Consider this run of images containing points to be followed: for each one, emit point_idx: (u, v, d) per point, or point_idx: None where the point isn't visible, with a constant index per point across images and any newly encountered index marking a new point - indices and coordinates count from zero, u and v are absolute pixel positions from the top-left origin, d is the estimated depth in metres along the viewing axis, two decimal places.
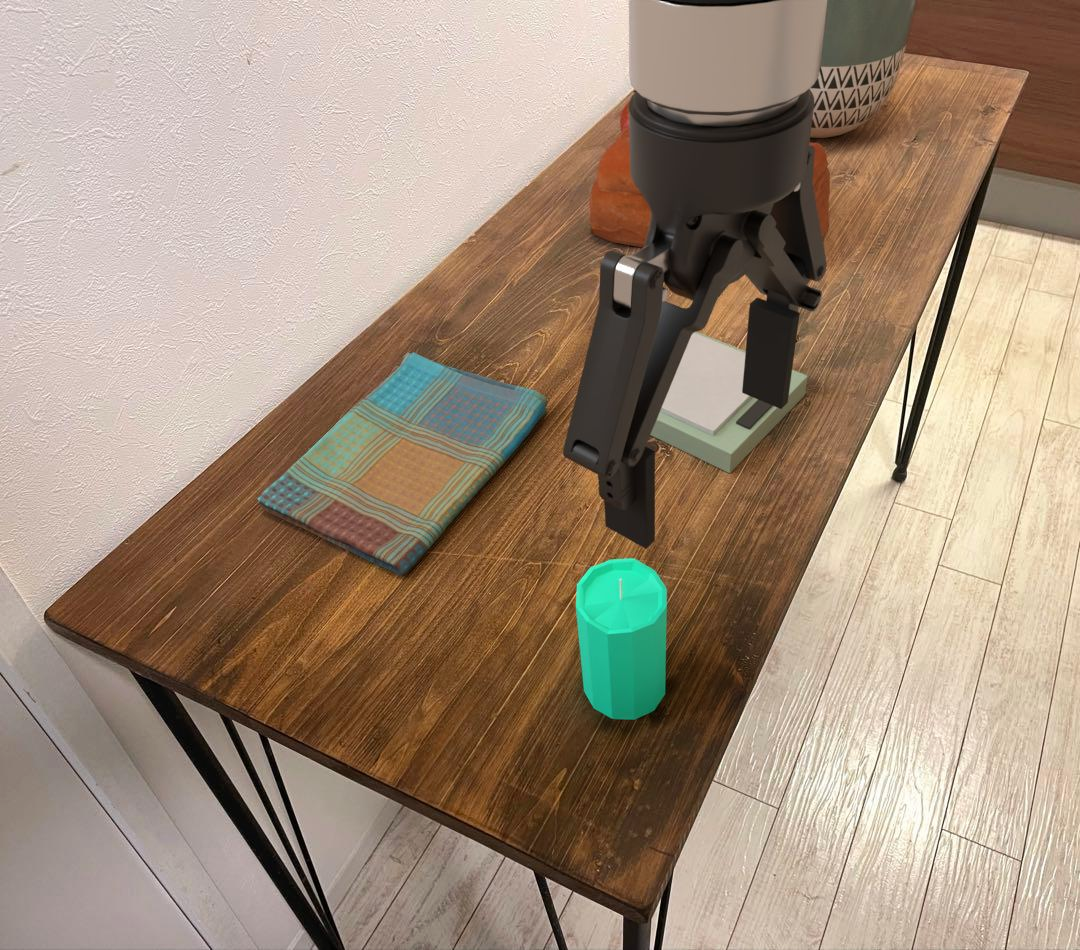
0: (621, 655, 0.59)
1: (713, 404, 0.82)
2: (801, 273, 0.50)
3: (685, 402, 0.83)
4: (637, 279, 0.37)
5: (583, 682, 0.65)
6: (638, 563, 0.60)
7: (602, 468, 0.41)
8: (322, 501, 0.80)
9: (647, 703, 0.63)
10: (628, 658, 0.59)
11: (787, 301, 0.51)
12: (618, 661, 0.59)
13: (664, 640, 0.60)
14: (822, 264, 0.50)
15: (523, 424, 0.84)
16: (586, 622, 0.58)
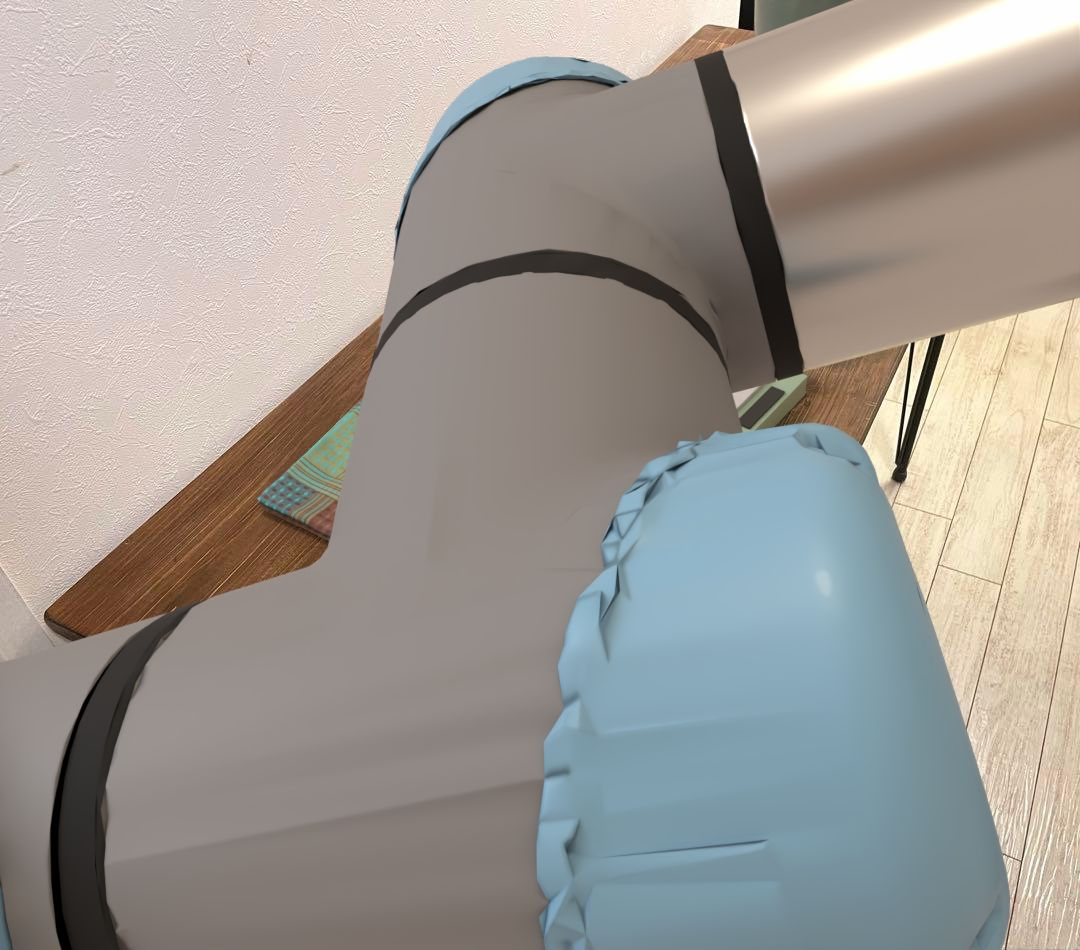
0: None
1: None
2: None
3: None
4: None
5: None
6: None
7: None
8: (322, 501, 0.80)
9: None
10: None
11: None
12: None
13: None
14: None
15: None
16: None
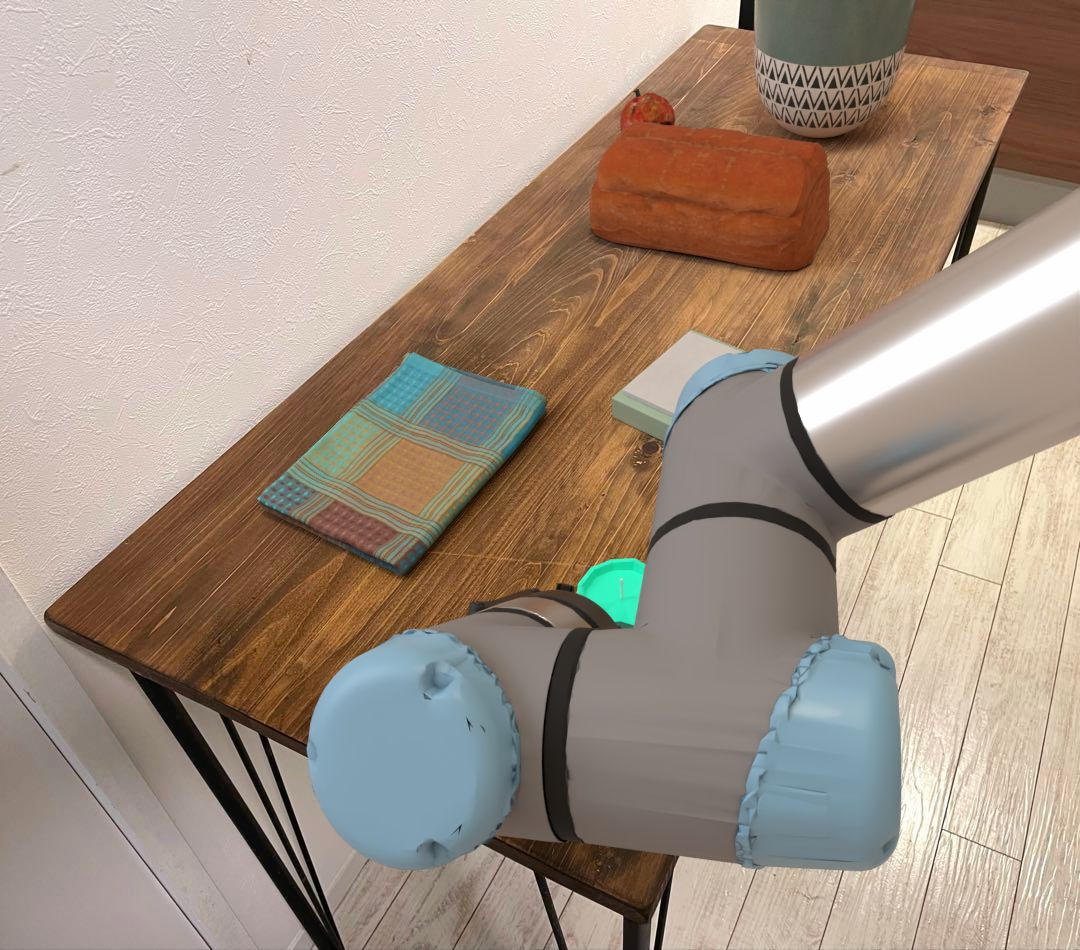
0: None
1: None
2: None
3: None
4: None
5: None
6: (638, 563, 0.60)
7: None
8: (322, 501, 0.80)
9: None
10: None
11: None
12: None
13: None
14: (530, 591, 0.60)
15: (523, 424, 0.84)
16: None
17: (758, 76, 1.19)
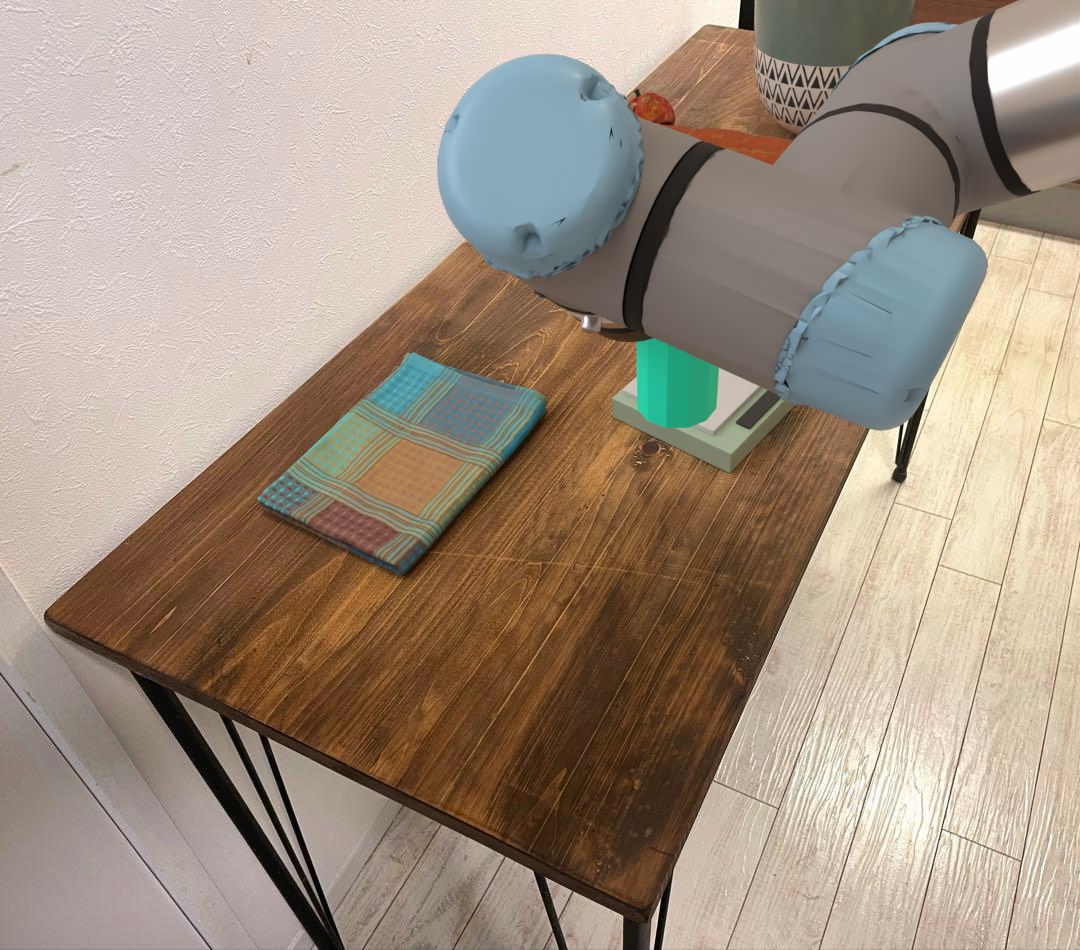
0: None
1: None
2: None
3: None
4: None
5: (637, 396, 0.67)
6: None
7: None
8: (322, 501, 0.80)
9: (701, 408, 0.65)
10: None
11: None
12: None
13: None
14: None
15: (523, 424, 0.84)
16: None
17: (758, 76, 1.19)
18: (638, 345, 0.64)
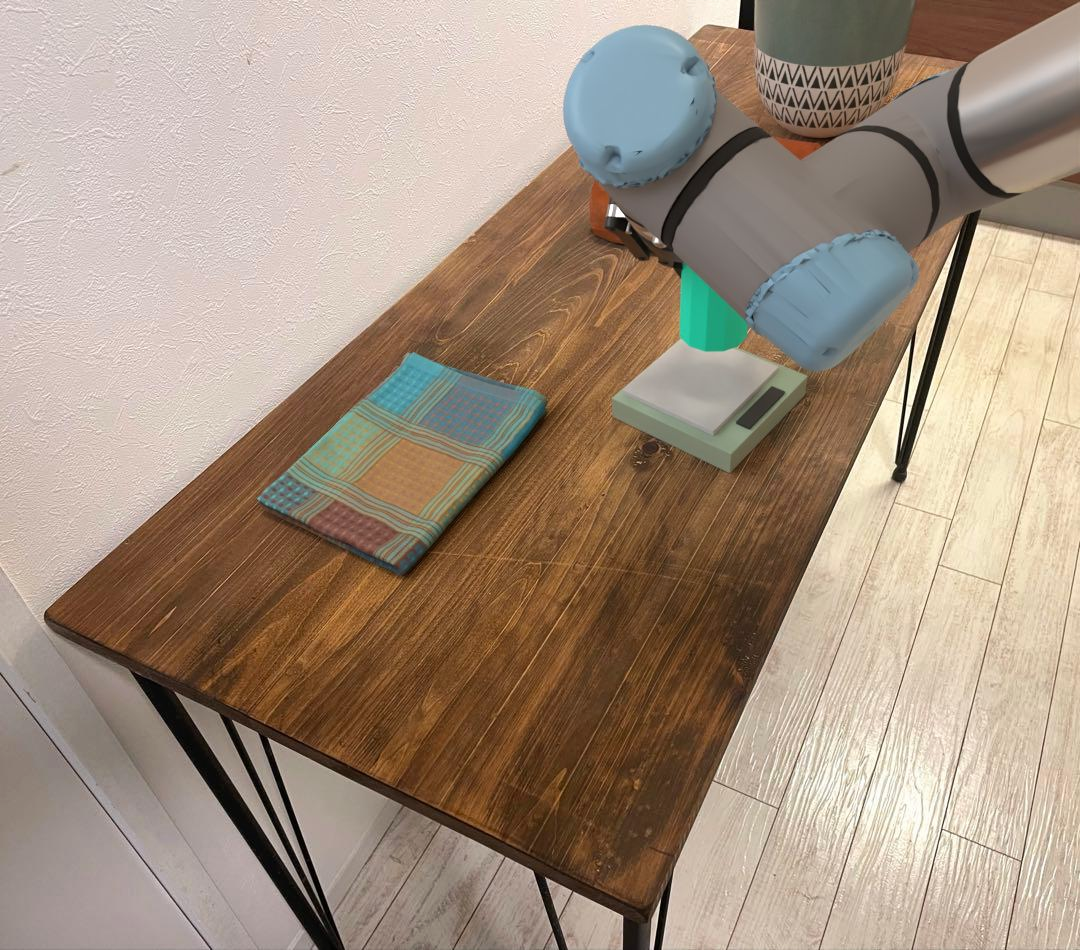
0: None
1: (713, 404, 0.82)
2: None
3: (685, 402, 0.83)
4: None
5: (680, 325, 0.79)
6: None
7: None
8: (322, 501, 0.80)
9: (734, 335, 0.78)
10: None
11: None
12: None
13: None
14: None
15: (523, 424, 0.84)
16: None
17: (758, 76, 1.19)
18: (683, 279, 0.76)
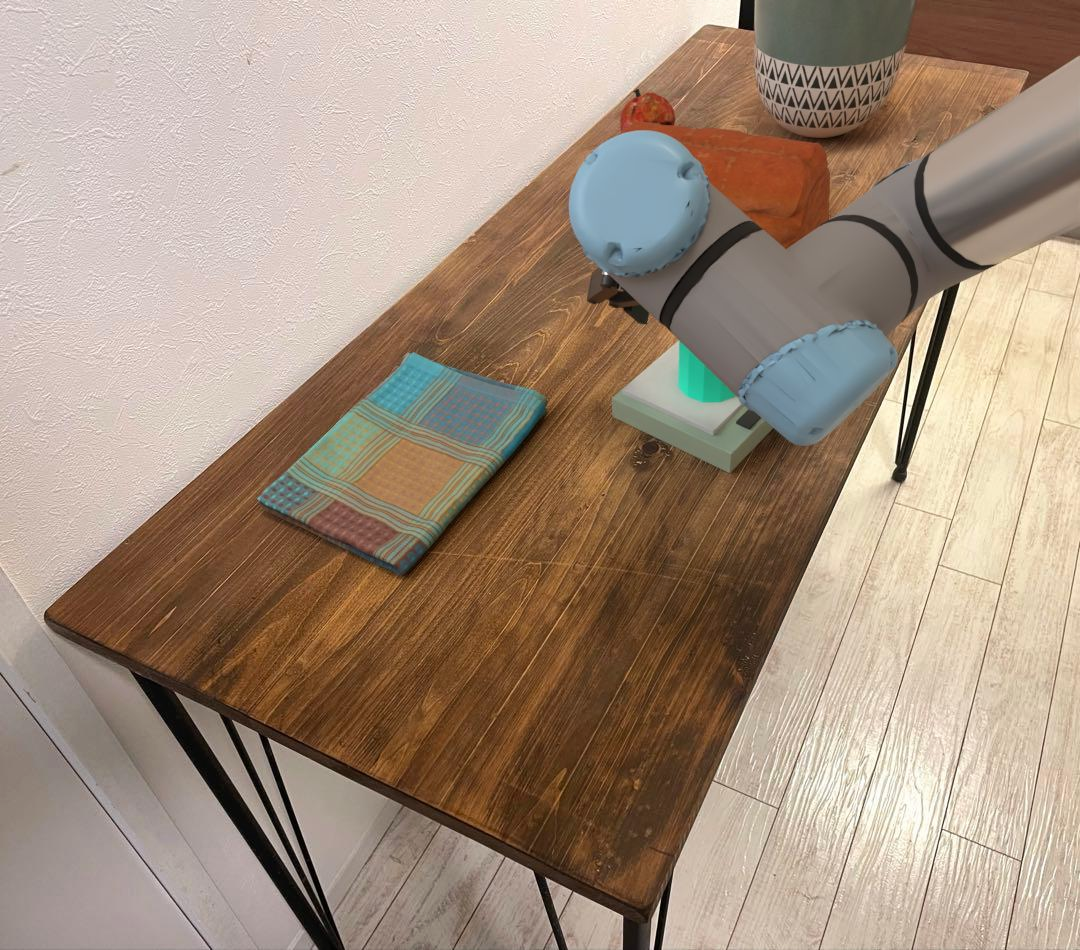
0: None
1: (713, 404, 0.82)
2: None
3: (685, 402, 0.83)
4: None
5: (679, 377, 0.83)
6: None
7: None
8: (322, 501, 0.80)
9: None
10: None
11: None
12: None
13: None
14: None
15: (523, 424, 0.84)
16: None
17: (758, 76, 1.19)
18: None
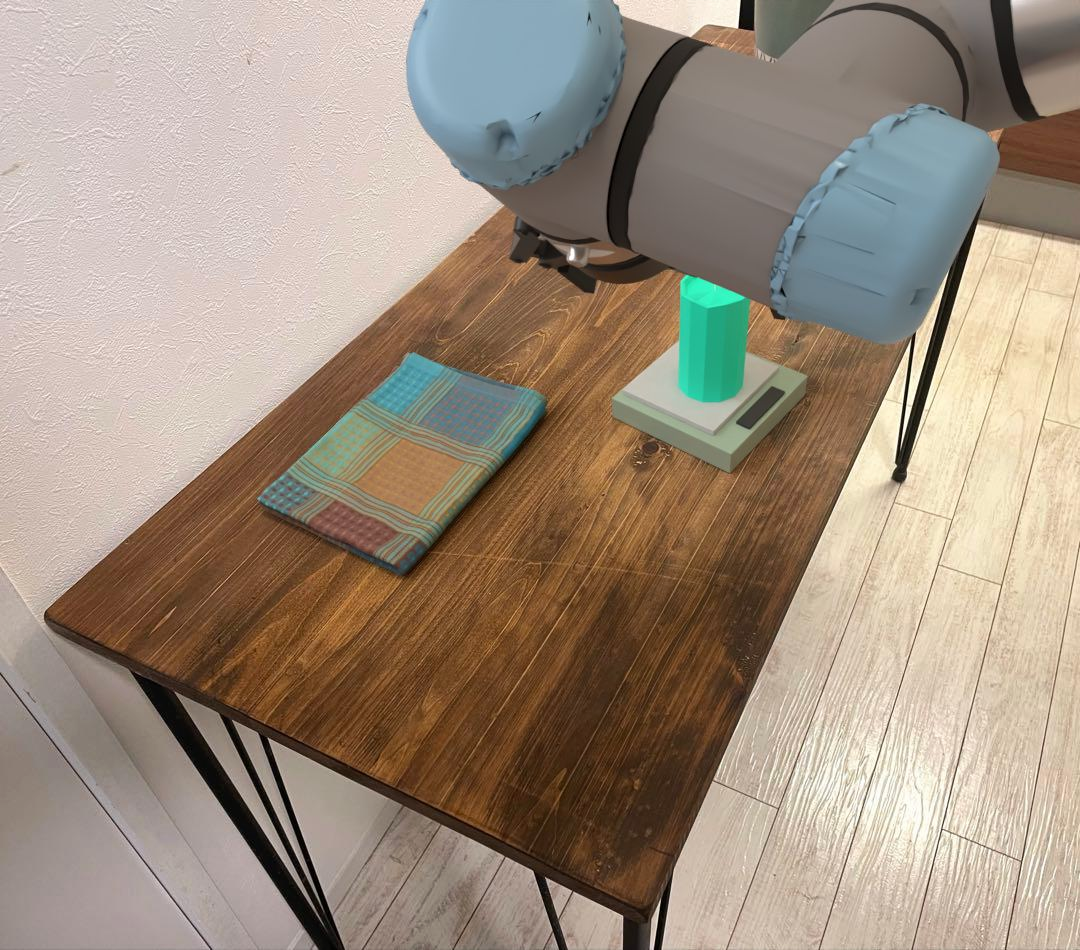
0: (716, 331, 0.77)
1: (713, 404, 0.82)
2: None
3: (685, 402, 0.83)
4: None
5: (679, 377, 0.83)
6: None
7: None
8: (322, 501, 0.80)
9: (730, 386, 0.82)
10: (721, 333, 0.77)
11: None
12: (713, 337, 0.77)
13: (747, 326, 0.79)
14: None
15: (523, 424, 0.84)
16: (690, 302, 0.76)
17: None
18: (681, 335, 0.80)
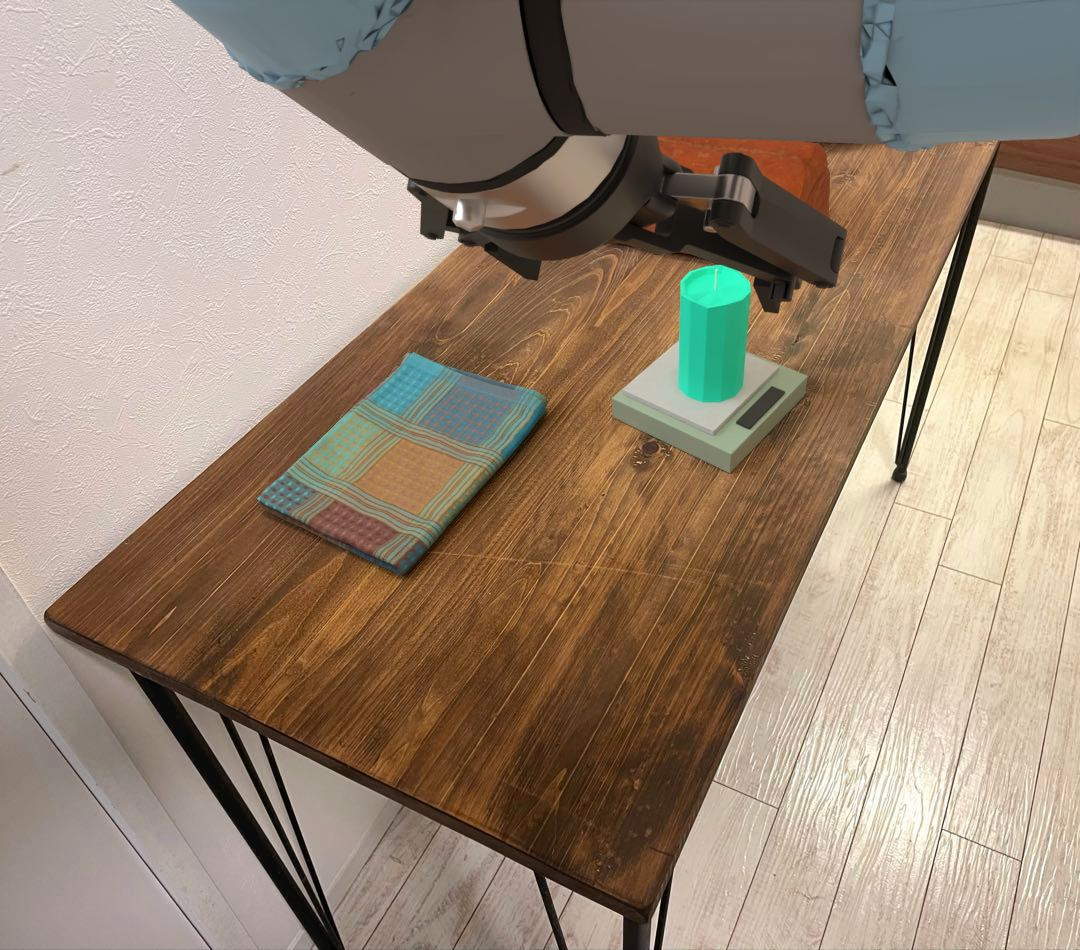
0: (716, 331, 0.77)
1: (713, 404, 0.82)
2: None
3: (685, 402, 0.83)
4: (749, 172, 0.33)
5: (679, 377, 0.83)
6: (726, 267, 0.79)
7: (845, 232, 0.39)
8: (322, 501, 0.80)
9: (730, 386, 0.82)
10: (721, 333, 0.77)
11: None
12: (713, 337, 0.77)
13: (747, 326, 0.79)
14: None
15: (523, 424, 0.84)
16: (690, 302, 0.76)
17: None
18: (681, 335, 0.80)
